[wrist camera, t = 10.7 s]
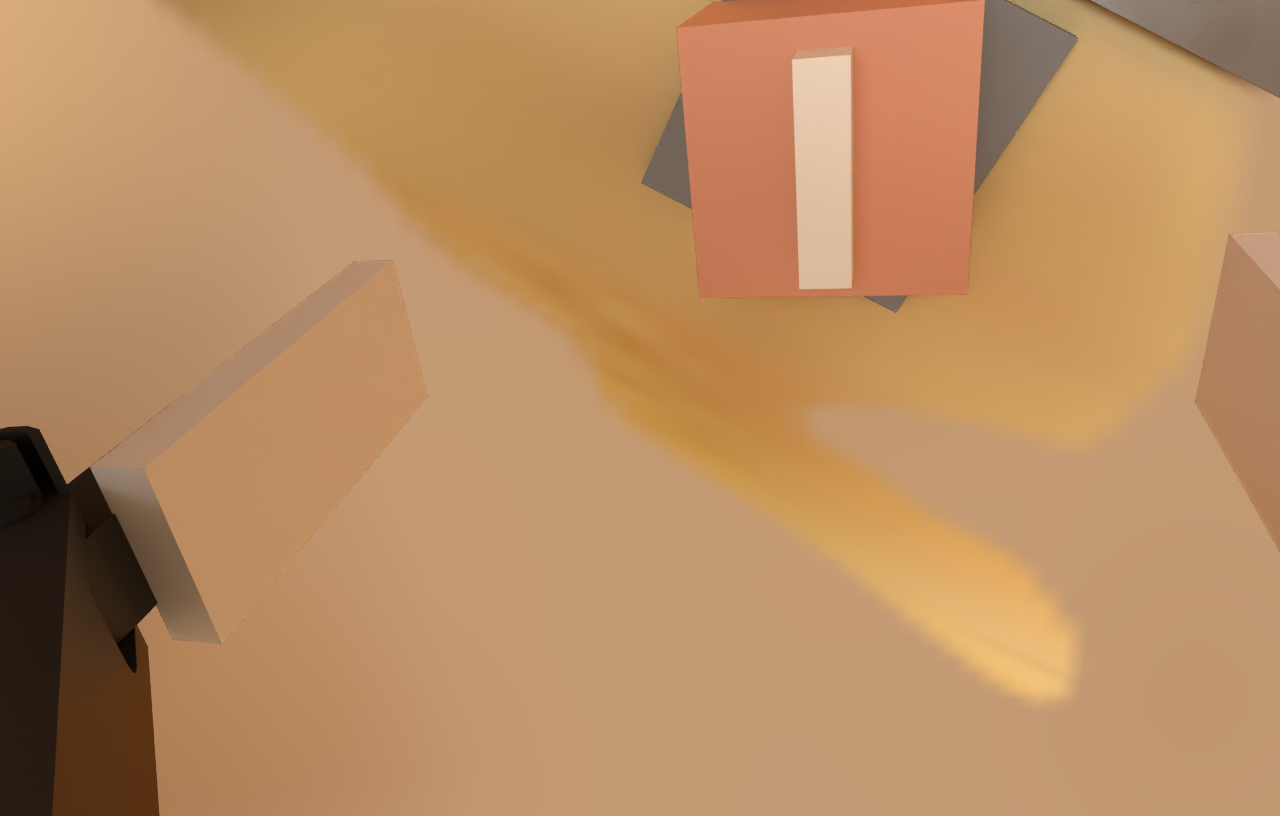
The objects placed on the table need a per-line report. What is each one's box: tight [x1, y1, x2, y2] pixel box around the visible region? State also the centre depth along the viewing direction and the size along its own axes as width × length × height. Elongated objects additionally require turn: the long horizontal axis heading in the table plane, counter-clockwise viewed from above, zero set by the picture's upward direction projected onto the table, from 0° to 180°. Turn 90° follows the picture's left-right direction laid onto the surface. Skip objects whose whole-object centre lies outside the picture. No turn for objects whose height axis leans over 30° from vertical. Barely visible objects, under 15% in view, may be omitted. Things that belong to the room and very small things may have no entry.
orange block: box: [676, 0, 985, 298], centre depth 27 cm, size 8×8×7 cm
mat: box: [642, 0, 1078, 313], centre depth 30 cm, size 10×10×1 cm
